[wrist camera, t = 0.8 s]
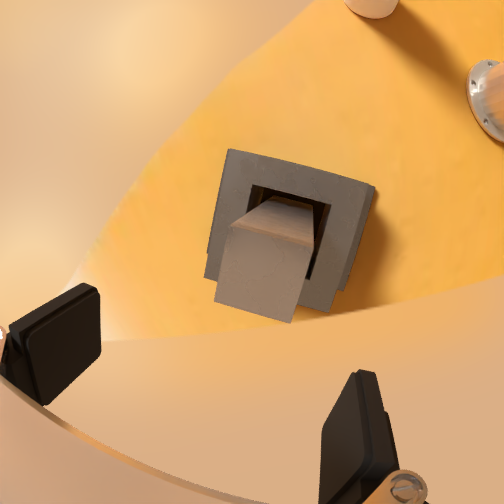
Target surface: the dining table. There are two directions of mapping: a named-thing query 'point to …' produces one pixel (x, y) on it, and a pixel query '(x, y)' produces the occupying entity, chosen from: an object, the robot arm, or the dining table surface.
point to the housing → (305, 185)
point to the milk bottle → (372, 7)
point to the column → (267, 259)
